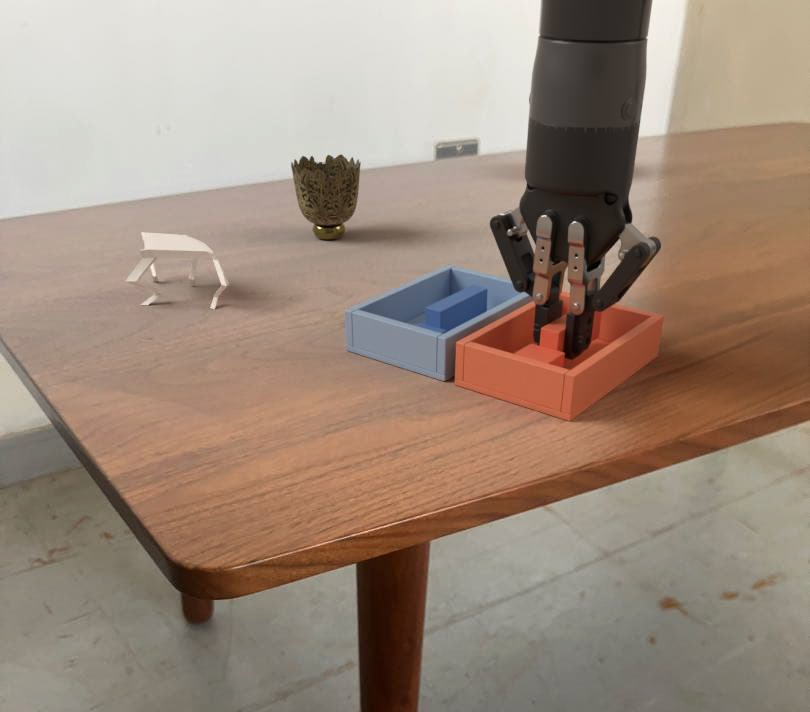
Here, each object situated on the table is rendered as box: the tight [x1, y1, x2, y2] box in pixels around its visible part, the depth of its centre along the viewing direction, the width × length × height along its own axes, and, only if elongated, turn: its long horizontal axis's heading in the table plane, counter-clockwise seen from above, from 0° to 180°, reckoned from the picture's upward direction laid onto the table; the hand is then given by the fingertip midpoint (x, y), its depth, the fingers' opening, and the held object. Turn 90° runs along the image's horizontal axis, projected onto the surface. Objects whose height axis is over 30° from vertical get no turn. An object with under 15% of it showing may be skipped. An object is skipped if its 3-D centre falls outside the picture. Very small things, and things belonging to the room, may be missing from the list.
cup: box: [290, 154, 361, 241], centre depth 100 cm, size 8×7×8 cm
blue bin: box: [344, 264, 533, 382], centre depth 77 cm, size 10×15×4 cm
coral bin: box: [454, 291, 665, 422], centre depth 72 cm, size 10×15×4 cm
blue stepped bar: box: [414, 285, 488, 334], centre depth 77 cm, size 10×3×3 cm, turn 142°
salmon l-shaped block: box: [514, 311, 602, 368], centre depth 71 cm, size 10×3×3 cm, turn 142°
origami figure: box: [124, 231, 230, 310], centre depth 85 cm, size 12×8×5 cm
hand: (560, 351), depth 72 cm, fingers closed on salmon l-shaped block
